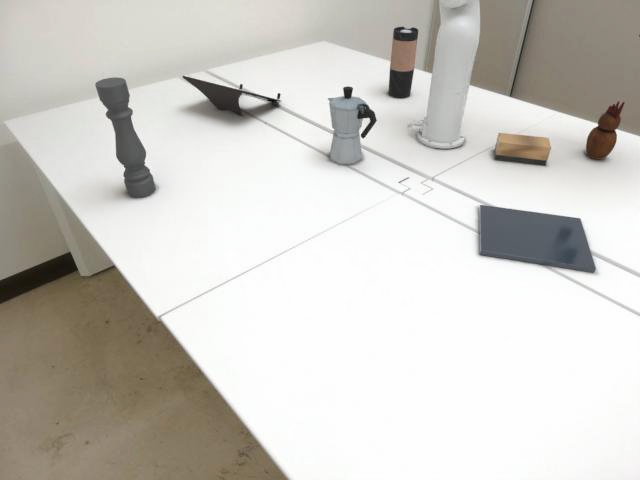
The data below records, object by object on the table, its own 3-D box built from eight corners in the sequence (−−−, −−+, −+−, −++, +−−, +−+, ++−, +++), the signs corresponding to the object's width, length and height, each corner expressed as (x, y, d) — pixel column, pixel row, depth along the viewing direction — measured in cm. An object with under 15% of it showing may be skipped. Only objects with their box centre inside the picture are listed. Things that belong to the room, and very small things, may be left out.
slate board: (479, 254, 87) (480, 250, 86) (479, 208, 99) (480, 204, 98) (594, 272, 83) (596, 268, 82) (578, 222, 95) (580, 218, 94)
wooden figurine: (611, 163, 114) (636, 105, 105) (586, 161, 115) (609, 103, 106) (603, 150, 119) (627, 94, 110) (579, 148, 120) (601, 92, 111)
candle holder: (161, 186, 106) (133, 78, 91) (145, 200, 102) (113, 89, 86) (138, 181, 108) (108, 75, 92) (122, 195, 103) (86, 85, 88)
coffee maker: (316, 154, 118) (315, 86, 107) (338, 143, 123) (339, 76, 112) (361, 174, 110) (365, 102, 99) (382, 161, 115) (389, 91, 104)
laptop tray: (283, 125, 146) (289, 95, 144) (237, 117, 126) (244, 82, 124) (228, 109, 156) (233, 82, 153) (178, 100, 136) (183, 68, 133)
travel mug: (396, 100, 147) (403, 34, 134) (383, 92, 152) (388, 28, 140) (415, 96, 149) (424, 30, 137) (401, 88, 155) (408, 25, 142)
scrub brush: (494, 160, 116) (499, 142, 112) (494, 150, 120) (498, 132, 117) (545, 166, 113) (551, 147, 110) (542, 155, 117) (548, 137, 114)
